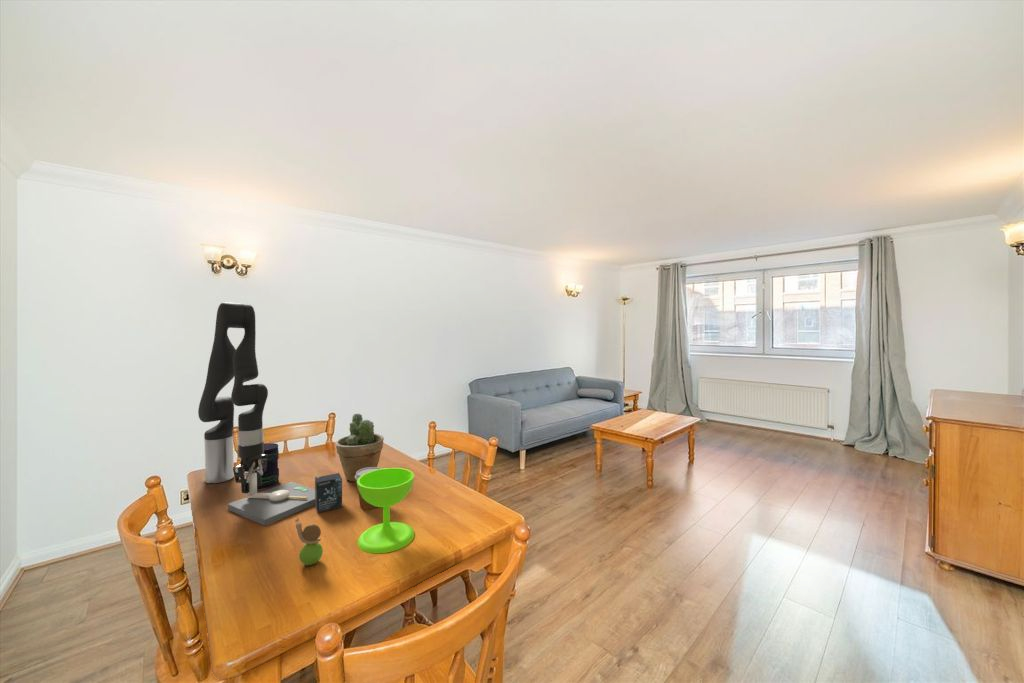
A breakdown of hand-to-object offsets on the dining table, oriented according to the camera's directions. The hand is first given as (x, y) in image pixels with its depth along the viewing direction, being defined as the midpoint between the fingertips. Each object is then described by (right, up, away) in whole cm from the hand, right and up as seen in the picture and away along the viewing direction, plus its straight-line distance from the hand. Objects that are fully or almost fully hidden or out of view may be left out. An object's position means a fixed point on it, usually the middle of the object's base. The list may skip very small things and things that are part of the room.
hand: (252, 489), depth 137 cm
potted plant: (+29, -4, +25) cm, 38 cm away
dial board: (+10, -5, 0) cm, 11 cm away
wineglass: (+54, -6, -22) cm, 59 cm away
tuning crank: (+10, -3, -1) cm, 10 cm away
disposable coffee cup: (+42, -5, -1) cm, 42 cm away
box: (+28, -5, -3) cm, 29 cm away
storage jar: (-6, -5, +16) cm, 18 cm away
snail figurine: (+38, -7, -34) cm, 52 cm away
